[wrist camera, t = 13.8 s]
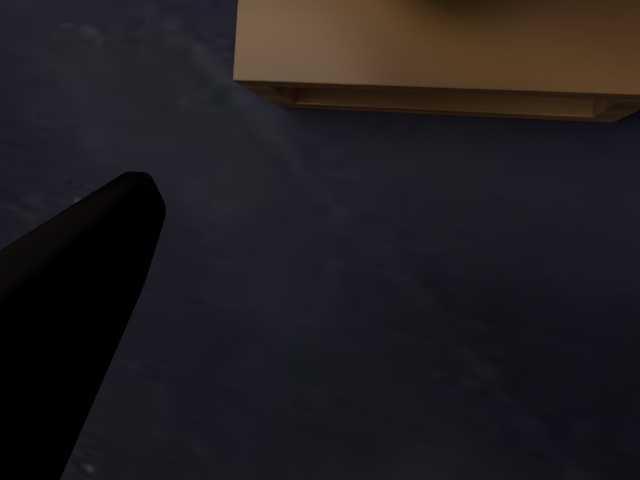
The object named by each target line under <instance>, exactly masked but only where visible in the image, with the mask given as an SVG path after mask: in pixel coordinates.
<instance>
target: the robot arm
mask: <svg viewBox="0 0 640 480" xmlns="http://www.w3.org/2000/svg"><path fill="white" fill-rule="evenodd" d="M165 215H166V206H165V203H164V200H163V198H162V196H161V194H160V192H159V190H158V188H157V186H156V184H155V182H154V180H153V178H152V177H151V176H150V175H149V174H148V173H145V172H133V171H129V172H125V173H123V174H122V175H120V176H118V177H117V178H115V179H114V180H112V181H110V182H109V183H107V184H106V185H104V186H102V187H101V188H99V189H98V190H96V191H94V192H93V193H91V194H90V195H88V196H86V197H85V198H83V199H82V200H80V201H78V202H77V203H75V204H74V205H72V206H70V207H69V208H67V209H66V210H64V211H62V212H61V213H59V214H58V215H56V216H54V217H53V218H51V219H50V220H48V221H46V222H45V223H43V224H42V225H40V226H38V227H37V228H35V229H34V230H32V231H30V232H29V233H27V234H26V235H24V236H22V237H21V238H19V239H18V240H16V241H14V242H13V243H11V244H10V245H8V246H6V247H5V248H3V249H2V250H0V480H60V478H61V476H62V474H63V471H64V469H65V467H66V464H67V462H68V460H69V457H70V455H71V453H72V451H73V448H74V446H75V444H76V441H77V439H78V437H79V434H80V432H81V430H82V427H83V425H84V423H85V420H86V418H87V416H88V414H89V411H90V409H91V407H92V404H93V402H94V400H95V397H96V395H97V393H98V390H99V388H100V386H101V383H102V381H103V379H104V377H105V374H106V372H107V370H108V367H109V365H110V363H111V360H112V358H113V356H114V353H115V351H116V349H117V346H118V344H119V342H120V340H121V337H122V335H123V333H124V330H125V328H126V326H127V323H128V321H129V319H130V316H131V314H132V312H133V309H134V307H135V305H136V303H137V300H138V298H139V296H140V293H141V291H142V288H143V286H144V283H145V280H146V277H147V274H148V271H149V268H150V265H151V261H152V258H153V255H154V252H155V248H156V245H157V242H158V239H159V235H160V232H161V229H162V226H163V222H164V219H165Z"/></svg>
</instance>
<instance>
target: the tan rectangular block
mask: <svg viewBox="0 0 640 480" xmlns="http://www.w3.org/2000/svg"><path fill="white" fill-rule="evenodd" d="M233 81H235V82H237V83H239V84H240V85H242V86H244V87H246V88H247V89H249V90H251V91H253V92H255V93H256V94H258V95H260V96H262V97H263V98H265V99H267V100H269V101H271V102H272V103H274V104H276V105H278V106H280V107H287V108H308V109H330V110H351V111H372V112H394V113H415V114H436V115H457V116H479V117H500V118H521V119H542V120H564V121H585V122H606V123H614V122H616V121H618V120H620V119H622V118H624V117H626V116H628V115H630V114H632V113H634V112H636V111H638V110H640V0H440V1H426V0H238V10H237V25H236V40H235V54H234V69H233Z"/></svg>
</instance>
